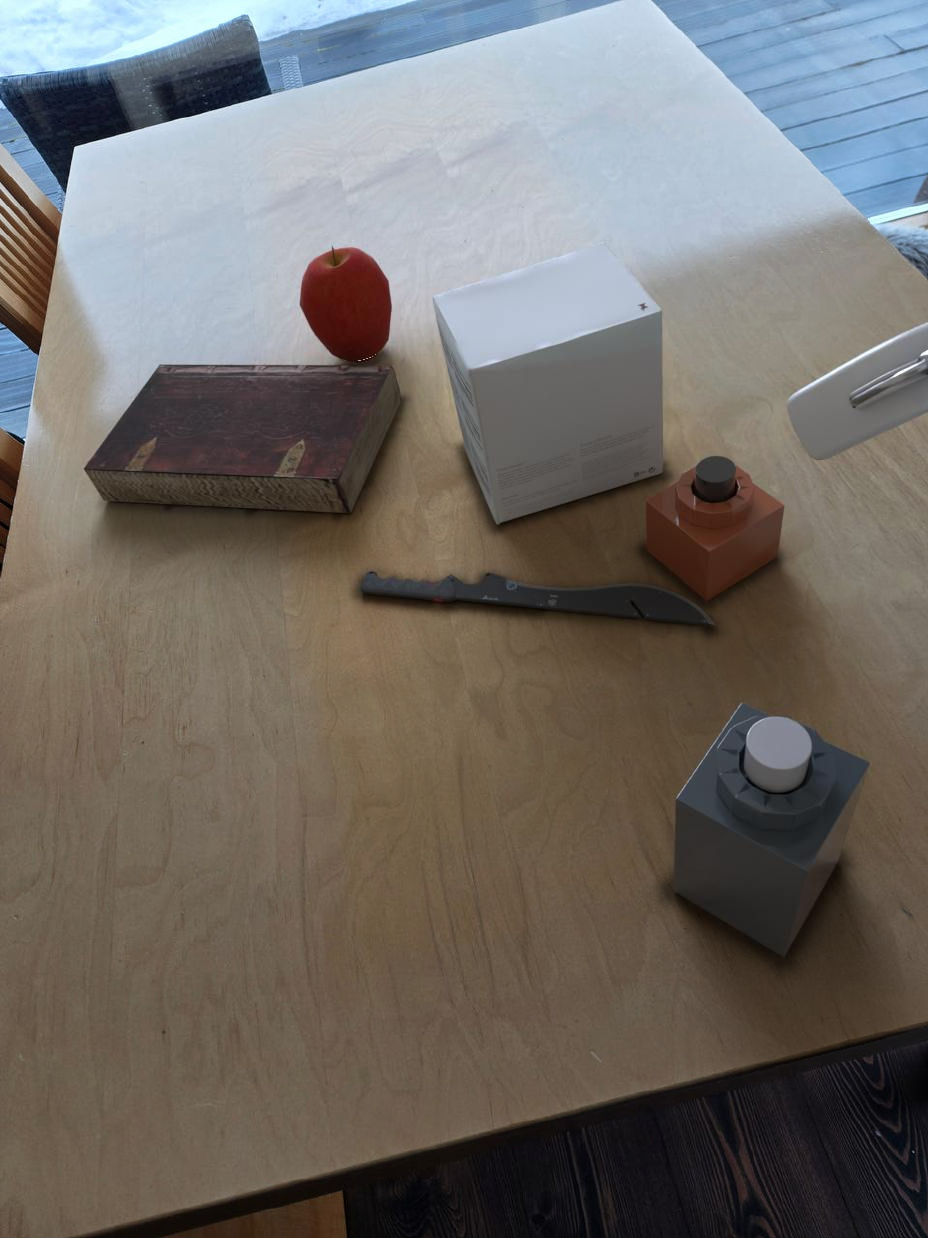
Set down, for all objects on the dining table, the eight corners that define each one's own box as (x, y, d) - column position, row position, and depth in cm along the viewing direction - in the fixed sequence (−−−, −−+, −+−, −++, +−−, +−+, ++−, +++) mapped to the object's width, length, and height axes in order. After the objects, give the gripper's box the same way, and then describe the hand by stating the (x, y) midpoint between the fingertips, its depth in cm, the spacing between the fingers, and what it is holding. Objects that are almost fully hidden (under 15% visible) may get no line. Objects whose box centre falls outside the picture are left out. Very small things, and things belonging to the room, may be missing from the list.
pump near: (817, 758, 52) (823, 733, 50) (789, 804, 51) (794, 780, 49) (760, 731, 54) (764, 706, 52) (732, 774, 53) (735, 750, 51)
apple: (387, 319, 115) (360, 211, 105) (416, 358, 109) (390, 247, 99) (310, 349, 114) (274, 242, 104) (334, 390, 108) (299, 281, 97)
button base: (777, 556, 81) (787, 489, 75) (706, 601, 79) (710, 535, 73) (714, 508, 86) (718, 441, 80) (646, 550, 84) (644, 484, 78)
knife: (719, 593, 79) (720, 589, 79) (714, 631, 77) (714, 626, 76) (373, 561, 89) (371, 557, 88) (358, 594, 86) (357, 590, 86)
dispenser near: (838, 861, 63) (876, 743, 52) (784, 958, 60) (812, 855, 48) (730, 803, 67) (743, 682, 56) (673, 891, 64) (675, 781, 52)
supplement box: (615, 398, 98) (607, 237, 85) (666, 475, 90) (667, 309, 76) (460, 446, 98) (427, 291, 84) (496, 529, 89) (465, 370, 75)
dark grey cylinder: (742, 491, 76) (744, 469, 74) (712, 509, 75) (713, 488, 74) (716, 471, 78) (717, 450, 76) (686, 489, 77) (686, 467, 76)
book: (402, 398, 105) (392, 360, 101) (351, 516, 93) (338, 478, 90) (176, 394, 112) (159, 359, 109) (105, 503, 101) (83, 468, 98)
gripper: (940, 442, 38) (759, 517, 51) (1273, 281, 43) (1029, 387, 56) (873, 302, 38) (710, 413, 51) (1214, 158, 43) (985, 293, 56)
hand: (879, 399), depth 54 cm, fingers closed
